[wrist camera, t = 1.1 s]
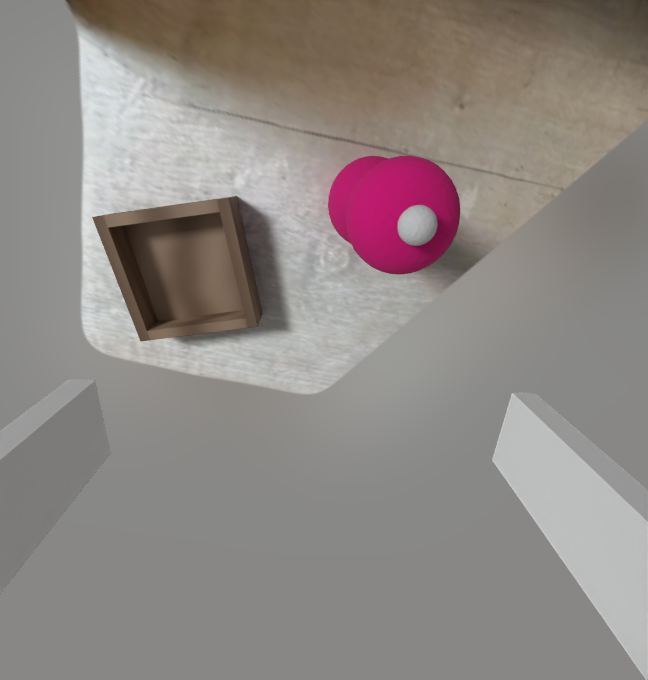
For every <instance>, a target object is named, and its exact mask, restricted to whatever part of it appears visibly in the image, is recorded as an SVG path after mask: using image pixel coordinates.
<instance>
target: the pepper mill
mask: <svg viewBox="0 0 648 680" xmlns="http://www.w3.org/2000/svg"><path fill="white" fill-rule="evenodd" d="M328 208H329V215H330V219H331V222H332V224H333V226H334V228H335V229H336V231H337V232H338V234H339V235H340V236H342V237H343V238H344V239H345V240H346V241H348V242H349V243H351V244H352V246H353V248H354V250H355V251H356V253H357V254H358V255H359V256H360V257H361V258H362V259H363V260H364V261H365V262H366V263H367V264H369V265H370V266H371V267H373V268H375V269H377V270H379V271H382V272H386V273H389V274H408V273H412V272H416V271H419V270H421V269H423V268H425V267H427V266H429V265H430V264H432V263H433V262H435V261H436V260H437V259H438V258H440V257H441V256H442V255H443V254H444V252H445V251H446V250H447V248H448V247H449V246H450V245H451V243H452V241H453V239H454V237H455V235H456V232H457V229H458V225H459V219H460V202H459V197H458V194H457V191H456V188H455V186H454V184H453V182H452V180H451V179H450V178H449V176H448V175H447V174H446V173H445V171H444V170H442V169H441V168H440V167H439V166H438V165H436V164H435V163H433V162H431V161H429V160H426V159H423V158H420V157H414V156H399V157H394V158H390V159H388V158H384V157H379V156H367V157H363V158H359V159H357V160H355V161H353V162H351V163H350V164H348V165H347V166H346V167H345V168H344V169H343V170H341V172H340V173H339V174H338V176H337V177H336V179H335V180H334V182H333V185H332V187H331V190H330V194H329V202H328Z"/></svg>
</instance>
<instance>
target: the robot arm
mask: <svg viewBox="0 0 648 680" xmlns="http://www.w3.org/2000/svg"><path fill="white" fill-rule="evenodd" d="M110 454H111V451H110V447H109V442H108V438H107V433H106V429H105V424H104V419H103V415H102V410H101V406H100V401H99V397H98V392H97V388H96V383H95V380H68V381H66V382H65V383H64V384H62V385H61V386H60V387H58V388H57V389H56V390H54V391H53V392H52V393H50V394H49V395H48V396H46V397H45V398H44V399H42V400H41V401H39V402H38V403H37V404H35V405H34V406H33V407H32V408H30V409H29V410H27V411H26V412H25V413H23V414H22V415H21V416H19V417H18V418H17V419H15V420H14V421H13V422H11V423H10V424H9V425H7V426H6V427H5V428H3V429H2V430H1V431H0V594H1V592H2V591H3V590H4V589H5V587H6V586H7V585H8V583H9V582H10V581H11V579H12V578H13V577H14V576H15V575H16V573H17V572H18V571H19V569H20V568H21V567H22V566H23V564H24V563H25V562H26V561H27V559H28V558H29V557H30V555H31V554H32V553H33V551H34V550H35V549H36V548H37V547H38V545H39V544H40V543H41V541H42V540H43V539H44V538H45V536H46V535H47V534H48V532H49V531H50V530H51V528H52V527H53V526H54V525H55V524H56V522H57V521H58V520H59V518H60V517H61V516H62V515H63V513H64V512H65V511H66V510H67V508H68V507H69V506H70V504H71V503H72V502H73V501H74V499H75V498H76V497H77V496H78V494H79V493H80V492H81V490H82V489H83V488H84V487H85V485H86V484H87V483H88V482H89V480H90V479H91V478H92V476H93V475H94V474H95V473H96V471H97V470H98V469H99V467H100V466H101V465H102V464H103V463H104V461H105V460H106V459H107V457H108V456H109V455H110ZM492 460H493V462H494V463H495V465H496V466H497V468H498V469H499V470H500V472H501V473H502V475H503V476H504V478H505V479H506V480H507V482H508V483H509V485H510V486H511V488H512V489H513V490H514V492H515V493H516V495H517V496H518V498H519V499H520V500H521V502H522V503H523V505H524V506H525V508H526V509H527V510H528V512H529V513H530V515H531V516H532V517H533V519H534V520H535V522H536V523H537V525H538V526H539V528H540V529H541V530H542V532H543V533H544V535H545V536H546V538H547V539H548V540H549V542H550V543H551V545H552V546H553V548H554V549H555V550H556V552H557V553H558V555H559V556H560V558H561V559H562V560H563V562H564V563H565V565H566V566H567V568H568V569H569V570H570V572H571V573H572V575H573V576H574V578H575V579H576V580H577V582H578V583H579V585H580V586H581V587H582V589H583V591H584V592H585V593H586V595H587V596H588V598H589V599H590V600H591V602H592V603H593V605H594V606H595V608H596V609H597V610H598V612H599V613H600V615H601V616H602V617H603V619H604V621H605V622H606V623H607V625H608V626H609V628H610V629H611V631H612V632H613V633H614V635H615V636H616V638H617V639H618V641H619V642H620V643H621V645H622V646H623V648H624V649H625V650H626V652H627V653H628V655H629V656H630V658H631V659H632V661H633V662H634V663H635V665H636V666H637V668H638V669H639V671H640V672H641V673H642V675H643V676H644V678H645V679H646V680H648V490H647V489H646V488H644V487H643V486H642V485H641V484H639V483H638V482H637V481H636V480H635V479H634V478H633V477H632V476H631V475H629V474H628V473H627V472H626V471H625V470H624V469H622V468H621V467H620V466H619V465H618V464H617V463H615V462H614V461H613V460H612V459H611V458H609V457H608V456H607V455H606V454H605V453H604V452H603V451H601V450H600V449H599V448H598V447H597V446H596V445H595V444H593V443H592V442H591V441H590V440H589V439H588V438H586V437H585V436H584V435H583V434H582V433H581V432H579V431H578V430H577V429H576V428H575V427H574V426H572V425H571V424H570V423H569V422H568V421H567V420H565V419H564V418H563V417H562V416H561V415H560V414H558V413H557V412H556V411H555V410H554V409H553V408H551V407H550V406H549V405H548V404H547V403H546V402H544V401H543V400H542V399H541V398H540V397H539V396H538V395H536V394H535V393H512V395H511V399H510V402H509V405H508V409H507V413H506V416H505V419H504V422H503V426H502V429H501V432H500V436H499V439H498V443H497V446H496V449H495V452H494V456H493V459H492Z"/></svg>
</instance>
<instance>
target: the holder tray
mask: <svg viewBox="0 0 648 680" xmlns="http://www.w3.org/2000/svg"><path fill="white" fill-rule="evenodd" d="M92 218H93V220H94V223H95V225H96V228H97V231H98V233H99V236H100V238H101V241H102V243H103V246H104V249H105V251H106V254H107V256H108V259H109V261H110V264H111V266H112V269H113V272H114V274H115V277H116V279H117V282H118V284H119V287H120V290H121V292H122V295H123V297H124V300H125V302H126V305H127V307H128V310H129V313H130V315H131V318H132V320H133V323H134V325H135V328H136V331H137V333H138V336H139V338H140V341H147V340H155V339H163V338H171V337H179V336H186V335H194V334H202V333H210V332H218V331H226V330H234V329H242V328H250V327H257V326H258V324H259V321H260V319H261V316H262V310H261V306H260V301H259V296H258V292H257V287H256V283H255V278H254V273H253V269H252V264H251V260H250V255H249V250H248V246H247V241H246V237H245V232H244V227H243V223H242V218H241V214H240V209H239V204H238V200H237V196H235V197H228V198H221V199H213V200H206V201H199V202H192V203H185V204H178V205H171V206H164V207H157V208H150V209H142V210H135V211H128V212H121V213H114V214H108V215H102V216H96V217H92Z"/></svg>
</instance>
